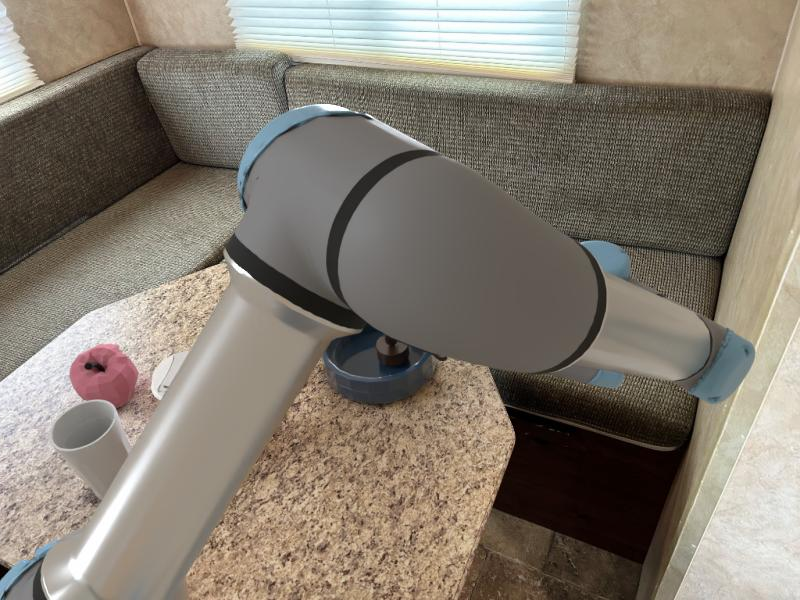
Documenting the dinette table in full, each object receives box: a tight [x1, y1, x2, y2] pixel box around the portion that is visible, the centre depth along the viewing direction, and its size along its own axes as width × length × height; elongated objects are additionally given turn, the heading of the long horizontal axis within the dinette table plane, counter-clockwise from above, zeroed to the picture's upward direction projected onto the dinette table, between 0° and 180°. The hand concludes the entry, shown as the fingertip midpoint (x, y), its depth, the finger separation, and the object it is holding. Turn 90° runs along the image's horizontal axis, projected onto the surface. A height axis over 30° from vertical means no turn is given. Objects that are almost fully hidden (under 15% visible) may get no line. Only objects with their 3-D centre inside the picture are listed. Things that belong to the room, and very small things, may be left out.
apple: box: [68, 343, 140, 409], centre depth 91 cm, size 10×9×10 cm
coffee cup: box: [150, 350, 190, 401], centre depth 81 cm, size 8×8×15 cm
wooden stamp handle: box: [376, 334, 409, 366], centre depth 89 cm, size 5×5×16 cm
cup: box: [48, 400, 133, 501], centre depth 78 cm, size 8×8×12 cm
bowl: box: [320, 323, 438, 405], centre depth 94 cm, size 18×18×6 cm
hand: (354, 300), depth 90 cm, fingers closed on wooden stamp handle, 2 cm apart
